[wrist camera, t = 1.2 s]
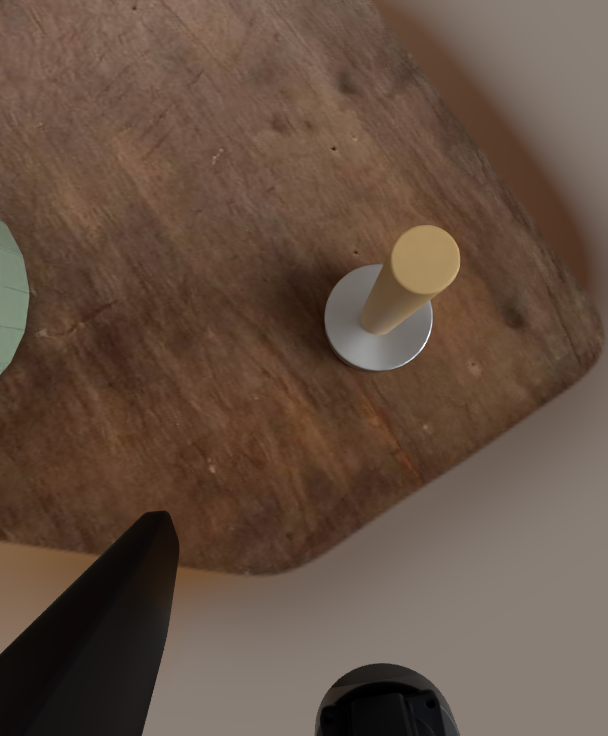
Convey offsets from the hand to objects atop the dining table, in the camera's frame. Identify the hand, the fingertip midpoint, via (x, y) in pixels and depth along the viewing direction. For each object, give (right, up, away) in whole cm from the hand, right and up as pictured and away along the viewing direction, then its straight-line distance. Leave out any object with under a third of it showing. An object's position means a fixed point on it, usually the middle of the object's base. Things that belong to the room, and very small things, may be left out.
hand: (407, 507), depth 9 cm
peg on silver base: (+2, +5, +15) cm, 16 cm away
